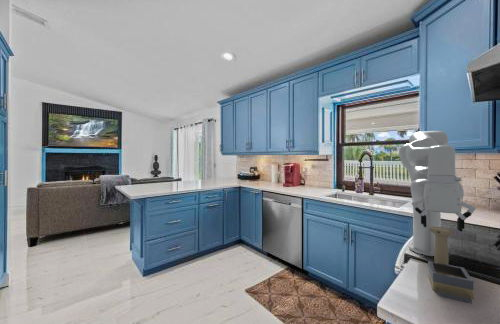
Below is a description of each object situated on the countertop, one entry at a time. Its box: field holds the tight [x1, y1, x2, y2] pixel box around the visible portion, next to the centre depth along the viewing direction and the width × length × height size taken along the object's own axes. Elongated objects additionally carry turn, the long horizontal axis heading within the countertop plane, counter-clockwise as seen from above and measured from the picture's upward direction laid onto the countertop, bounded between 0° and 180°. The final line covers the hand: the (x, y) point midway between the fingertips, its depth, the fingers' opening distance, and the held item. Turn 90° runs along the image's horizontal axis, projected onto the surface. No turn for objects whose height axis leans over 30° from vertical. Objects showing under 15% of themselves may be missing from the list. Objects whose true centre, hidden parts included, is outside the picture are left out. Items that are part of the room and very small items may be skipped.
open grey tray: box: [427, 260, 475, 304], centre depth 70 cm, size 16×9×5 cm, turn 148°
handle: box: [430, 227, 454, 265], centre depth 80 cm, size 5×6×15 cm
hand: (441, 228), depth 80 cm, fingers open, 9 cm apart
